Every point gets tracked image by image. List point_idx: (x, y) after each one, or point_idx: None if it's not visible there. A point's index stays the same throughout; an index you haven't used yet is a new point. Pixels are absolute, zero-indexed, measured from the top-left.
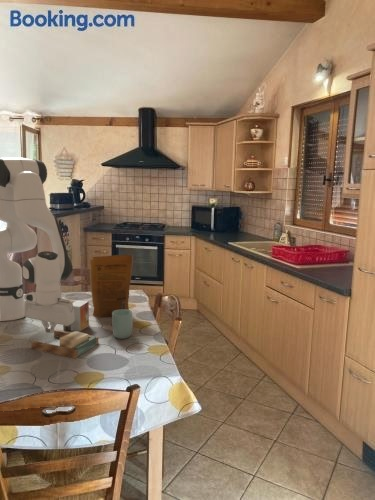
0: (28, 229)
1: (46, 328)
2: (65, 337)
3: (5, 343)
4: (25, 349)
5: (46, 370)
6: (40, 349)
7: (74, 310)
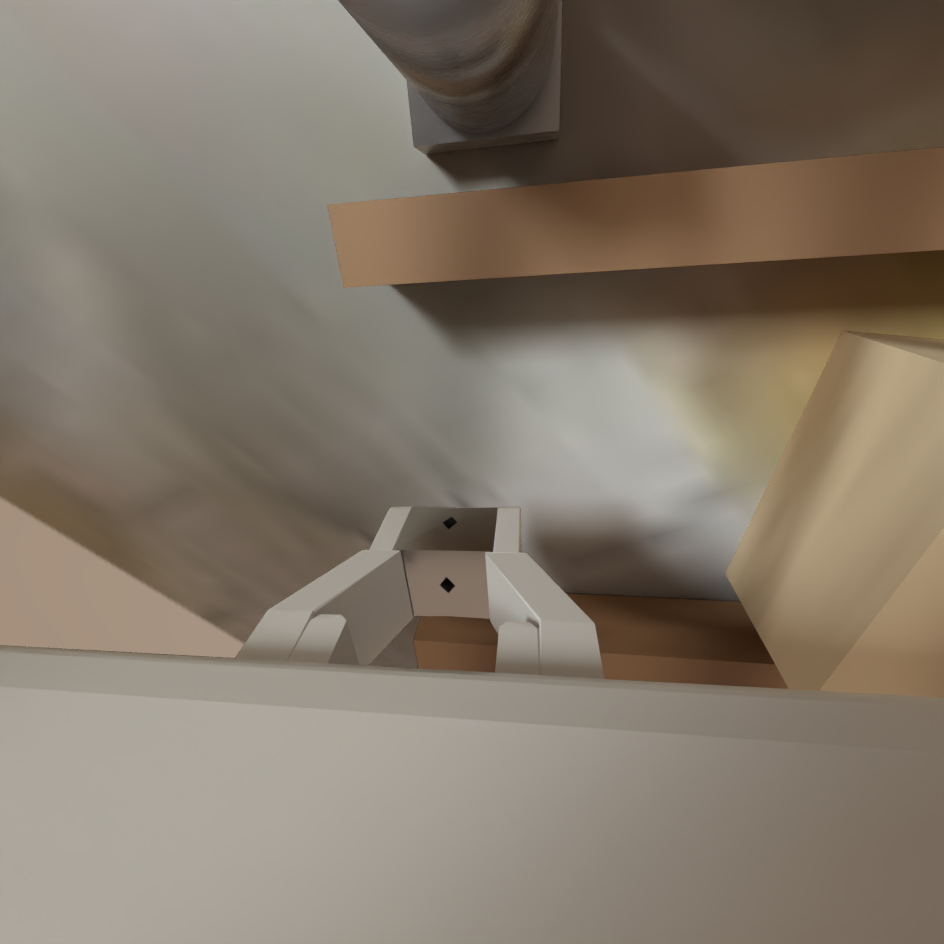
0: None
1: (422, 612)
2: (897, 685)
3: (175, 597)
4: (403, 630)
5: None
6: None
7: None
